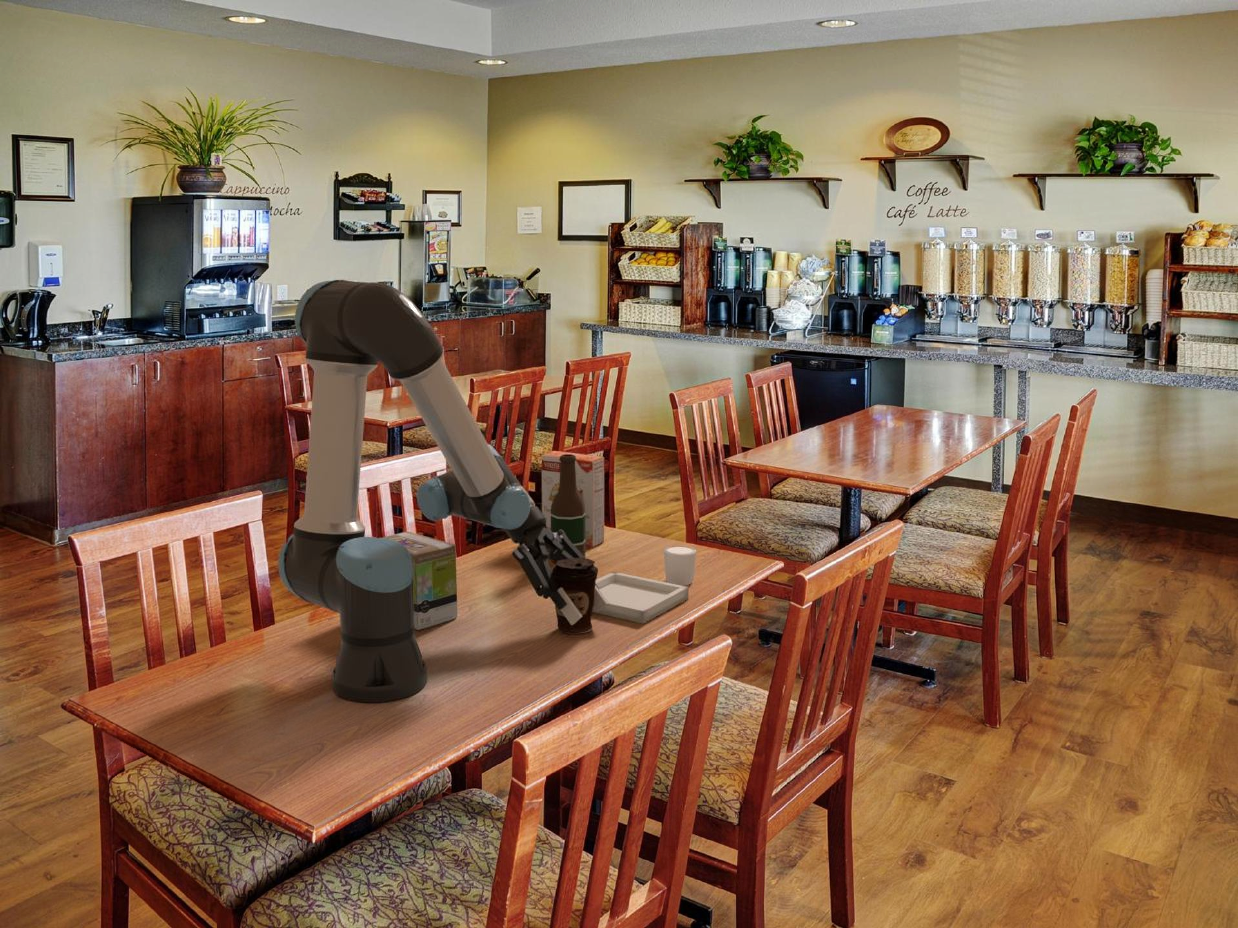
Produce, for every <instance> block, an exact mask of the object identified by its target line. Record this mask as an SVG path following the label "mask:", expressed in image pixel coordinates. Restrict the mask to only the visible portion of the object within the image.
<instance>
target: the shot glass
mask: <svg viewBox="0 0 1238 928" xmlns="http://www.w3.org/2000/svg"><path fill="white" fill-rule="evenodd" d="M696 558H697V549H696V548H693V547H692V546H686V545H673V546H667V547H665V548H664V549H663V560H664V574H665V582H666V583H671V584H676V585H687V586H690V585H692V584H693V583H694V577H695V567H696ZM692 582H693V583H692ZM691 583H692V584H691ZM689 584H690V585H689Z"/></svg>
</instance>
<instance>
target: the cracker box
mask: <svg viewBox="0 0 1238 928" xmlns="http://www.w3.org/2000/svg"><path fill="white" fill-rule="evenodd" d="M564 454H572V455H575V456H576V461H575V469H576V484H577V489H578V492H579V493H580V495H581V496H582V498H583V501H584V503H585V513H586V548H591V549H593V548H595V547H597V546H598V545H600V544H602V543H605V457H604V456H597V455H590V454H583V453H574V452H568V451H567V452H566V451H560V450H559V451H557V450H552V451H550V452H549V451H548V452H546V453H544V454H542V455H541V512H542V514H543V515H544V516H545V518H546V527H547V528H548V529H549V530H550V531H551V505H552V502H553V499H554V498H555V496H556V494H557V493H558V490H559V483H560V465H561V462H560V461H559V459H560V456H561V455H564Z"/></svg>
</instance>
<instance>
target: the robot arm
mask: <svg viewBox="0 0 1238 928" xmlns="http://www.w3.org/2000/svg"><path fill="white" fill-rule="evenodd" d="M295 308H296V309H295V312H294V325H295V328H296V332H297V334H298V335H299V336H300V337H301V341H302V342H303V343H304V344H305V347H306V348H305V361H306V363H307V364H308V365H309V366H310V367H311V369H312V370H313V383H312V399H311V413H310V414H311V415H310V426H309V438H308V439H309V440H308V441H309V444H308V454H307V456H308V457H307V469H306V483H305V484H306V485H305V496H304V497H305V499H304V513H303V515H302V516H301V517H300V518H299V519H297V520H296V521H295V522H294V525H293V533H292V534H291V535H289V537H288V538H287V541H286V542H285V543H283V544H282V547H281V549H280V552H279V555H278V561H277V563H278V566H277V567H278V573H279V577H280V579H281V582H282V584H283V585H284V587H286V588H287V590H288V591H290V592H291V593H292V594H294V595H295V596H297V597H299V599H301V600H303V601H304V602H307V603H309V604H314V605H317V606H319V607H322V608H325V609H327V610H330V611H332V612H334V613H338V614H339V621H340V623H339V624H340V639H341V640H340V645H339V646H340V647H339V649H338V653H337V657H336V660H335V666H334V668H333V671H332V672H331V673H332V674H331V683H332V684H331V685H332V687H331V688H332V691H333V692H334V694H335V695H336V696H338V697H340V698H342V699H344V700H349V701H352V702H357V703H359V702H360V703H383V702H391V701H397V700H400V699H403V698H406V697H409V696H412V695H414V694H416V693H418V692H419V691H421V690H422V689H424V688H425V686H426V685H427V683H428V670H427V668H428V667H427V665H426V662H425V661H424V660H423V655H422V652H421V650H420V646H419V644H418V642H417V638H416V634H415V629H414V599H413V575H414V572H413V568H412V561H411V555H410V553H409V551H408V550H407V548H406V547H405V546H403V545H402V544H400V543H398V542H396V541H394V540H391V539H386V538H382V537H380V538H381V539H378V538H379V537H378V538H377V537H376V536H365V535H366V526H365V525H364V524H363V523H362V521H361V520H360V519H359V518H358V508H359V507H358V506H359V495H360V494H359V493H360V492H359V491H360V480H361V477H360V476H361V466H362V455H363V454H362V453H363V451H362V450H363V440H364V439H363V438H364V426H365V413H366V398H367V385H368V377H369V375H370V374H371V373H373V372H374V370H375V369H376V368H378V366H379V365H378V364H379V363H380V364H381V365H382V366H383V367H384V368H385V370H386V372H387V373H388V375H389V377H390V378H391V379H392V380H394V381H399V382H400V383H401V385H402V386H403V389H404V390H405V391H406V393H407V395H408V397H409V399H410V401H411V402H412V404H413V405H414V407H415V410H417V412H418V414H419V416H420V417H421V419H422V421H423V423H424V424H425V426H426V427H427V429H428V431H429V433H430V435H431V437H432V439H433V440H434V442H435V444H436V445H437V447H438V449H439V450H440V452H441V453H442V455H443V457H444V459H445V461H446V462H447V464H448V465H449V467H450V469H451V470H450V471H447V472H444V473H441V474H439V475H437V476H432V478H430V479H427V480H426V481H424V482H421V484H420V485H419V486H418V488H417V490H416V500H417V505H418V508H419V510H420V511H421V513H422V514H423V516H424V517H426V519H428V520H430V521H434V522H437V521H440V520H445V519H447V518H449V517H451V516H455V517H459V518H461V519H466V520H469V521H474V522H477V523H480V524H484V525H488V526H491V527H494V528H496V529H504V531H505V532H506V534H507V535H508V537H509V538H510V539H511V541H512V543H514V544H518V546H517V547H516V548H515V549H514V550H513V551H512V552H511V555H512V556H513V558H514V559H515V560H516V561H517V562H518V563H519V564H520V567H521V569H523V572H524V573H525V575H526V577H527V579H528V581H529V582H530V585H531V586H532V588H533V590H534V591H535V593H536V595H537V596H539V597H542V598H543V599H545V600H547V599H549V598H550V600H551V601H552V603H553V604H554V606H555V605H556V607H557V608H558V609H559V610H561V611H562V613H563V614H564V616H565V617H566V618H567V620H568V621H569V623H570V624H571V625H573V624H575V623H576V622H577V621H578V620H579V619H580V618H581V617H582V615H581V613H580V612H579V611H578V609H577V608H576V606H575V605H574V604H573V602H572V601H571V600H570V598H569V597H568V595H567V594H566V593H565V591H564V590H563V588H562V587H561V588H559V589H558V590H557V585H556V582H555V579H554V576H553V573H552V571H553V570H552V567H551V566H550V563H549V560H551V561H552V560H555V561H556V562H557V561H559V560H565V559H569V558H586V556H585V557H584V556H583V555H582V554H581V552H580V551H579V550H578V549H577V548H576V547H575V546H574V545H573V544H572V542H571V541H570V540H569V539H568V537H567V536H566V534H565V532H564V531H563V530H562V529H560V530H559V531H558V532H556V533H553V532H552V531H550V530H549V529H548V528H547V527H546V518H545V516H544V515H543V514H542V510H540V508H539V507H538V506H536V505H535V501H534V500H533V498H532V497H531V496H530V494H529V493H528V491H526V489H525V488H524V487H523V486H522V484H521V482H520V481H519V479H518V478H517V477H516V475H515V474H514V473H513V471H512V470H511V468H510V467H509V466H508V465H507V463H506V461H505V460H504V458H503V456H502V455H500V454H499V452H498V451H497V450H496V449H495V447H493V446H492V445H491V444H490V443H488V442H487V441H486V439H485V436H484V435H483V433H482V431H481V429H480V427H479V425H478V424H477V421H476V420H475V418H474V415H473V414H472V413H471V411H470V408H469V407H468V405H467V403H466V401H465V399H464V397H463V395H462V394H461V392H460V390H459V388H458V387H457V384H456V383H455V381H454V379H453V377H452V375H451V372H449V370H448V367H447V366H446V364H445V362H444V360H443V356H444V352H445V349H444V347H443V345H442V343H441V341H440V339H439V338H438V335H437V334H436V333H435V330H434V328H433V327H432V326H431V324H430V323H429V321H428V319H427V318H426V317H425V316H424V315H423V312H422V311H421V310H420V309H419V308H418V307H417V305H416V304H415V303H414V302H413V301H412V300H411V299H410V298H409V297H408V296H407V295H405V294H404V293H403V292H402V291H401V290H399V289H398V288H396V287H394V286H392V285H390V284H386V283H383V282H366V281H355V280H346V279H334V280H324V281H321V282H318V283H316V284H313V285H312V286H311V287H309V288H308V290H306V291H305V292H304V294H302V296H301V297H300V299H299V301H298V303H297V306H296V307H295ZM556 549H557V550H556ZM548 559H549V560H548ZM608 603H609V602H608V601H607V600H606V598H605V597H604V596H603V594H602V593H601V592H600V590H599V588H598V586H597V585H596V583H595V600H594V607H595V608H596V610H597V611H598V612H599V611H601V610H602V609H603V608H604V607H605V606H606V605H607V604H608Z"/></svg>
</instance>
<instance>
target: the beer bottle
mask: <svg viewBox="0 0 1238 928" xmlns="http://www.w3.org/2000/svg"><path fill="white" fill-rule="evenodd" d="M559 461H560V462H561V465H560V483H559V490H558V493H557V494H556V496H555V498H554V499H553V502H552V505H551V531H552V532H553V533H556V532H558V531H559V530H560V529H562V530H563V531H564V532H565V534H566V536H567V537H568V539H569V540H570V541H571V542H572V544H573V545H574V546H575V547H576V548H577V549H578V550H579V551H580V552H581V554H582V555H583V556H584V557H585V558H586V550H587V549H586V548H587V547H586V513H585V503H584V501H583V498H582V496H581V495H580V493H579V492H578V489H577V484H576V469H575V461H576V456H575V455H572V454H564V455H561V456H560V459H559ZM556 550H557V549H556ZM551 562H552V563H554V564H556V561H555V560H551Z"/></svg>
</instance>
